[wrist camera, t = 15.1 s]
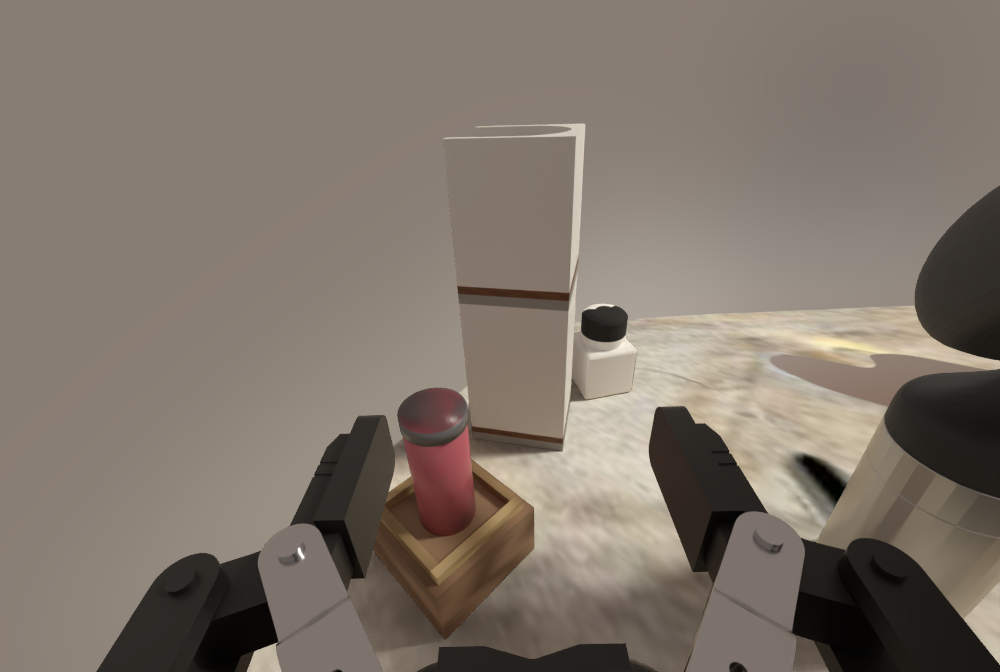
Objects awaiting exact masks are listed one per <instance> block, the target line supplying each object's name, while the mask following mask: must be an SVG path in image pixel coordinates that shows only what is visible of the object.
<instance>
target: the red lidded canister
mask: <svg viewBox="0 0 1000 672" xmlns="http://www.w3.org/2000/svg"><path fill="white" fill-rule="evenodd" d="M397 416H398V422H399V427H400V431H401V434H402V436H403V439H404V444H405V448H406V453H407V458H408V463H409V468H410V472H411V477H412V482H413V487H414V491H415V496H416V501H417V506H418V511H419V515H420V520H421V523H422V525H423V526H424V528H425V529H426V530H427V531H429V532H430V533H432V534H434V535H438V536H451V535H455V534H457V533H459V532H461V531H463V530H464V529H466V528H467V527H468V526H469V525H470V523H471V522H472V520H473V518H474V516H475V511H476V506H475V496H474V486H473V475H472V465H471V455H470V444H469V434H468V410H467V403H466V401H465V399H464V397H463V396H462V395H461V394H459V393H458V392H456V391H454V390H451V389H446V388H429V389H425V390H421V391H419V392H416V393H414V394H413V395H411V396H409V397H408V398H407V399H405V400H404V401H403V403H402V404H401V405H400V407H399V410H398V414H397Z"/></svg>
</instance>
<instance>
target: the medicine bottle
mask: <svg viewBox="0 0 1000 672" xmlns="http://www.w3.org/2000/svg"><path fill="white" fill-rule="evenodd" d="M627 320H628V315H627V313H626V312H625V311H624V310H623V309H622V308H620V307H617V306H614V305H610V304H596V305H591V306H589V307H587V308H586V309H585V310H584V311H583V312H582V323H581V332H576V333H574V339H573V359H572V379H573V381H574V382H575V384H576V385H577V387H578V389H579V390H580V392H581V393H582V395H583V396H584V398H585V399H587V400H588V399H593V398H598V397H604V396H609V395H614V394H620V393H625V392H630V391H631V390H632V383H633V376H634V369H635V362H636V355H637V350H636V349H635V348H634V347H633V346H632V345H631V344H630V343H629V342H628V341H627V340H626V339H625V336H626V328H627Z"/></svg>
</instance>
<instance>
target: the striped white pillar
mask: <svg viewBox="0 0 1000 672" xmlns="http://www.w3.org/2000/svg"><path fill="white" fill-rule="evenodd" d="M584 140H585V124H552V125H518V126H517V125H513V126H478V127H475V137H453V138H444V139H443V149H444V159H445V168H446V178H447V188H448V197H449V208H450V218H451V228H452V237H453V246H454V257H455V267H456V277H457V286H458V295H459V306H460V316H461V325H462V336H463V345H464V356H465V366H466V375H467V385H468V395H469V405H470V415H471V425H472V434H473V438H475V439H482V440H489V441H496V442H503V443H510V444H517V445H524V446H531V447H538V448H545V449H552V450H559V451H563V445H564V438H565V432H566V426H567V419H568V413H569V407H570V400H571V389H572V385H571V378H572V359H573V339H574V319H575V300H576V284H577V274H578V255H579V236H580V217H581V196H582V178H583V159H584Z"/></svg>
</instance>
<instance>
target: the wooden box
mask: <svg viewBox="0 0 1000 672" xmlns="http://www.w3.org/2000/svg"><path fill="white" fill-rule="evenodd" d="M471 465H472V475H473V486H474V496H475V506H476V511H475V516H474V518H473V520H472V522H471V523H470V525H469V526H468V527H467V528H466V529H464V530H463V531H461V532H459V533H457V534H455V535H451V536H438V535H434V534H432V533H430V532H429V531H427V530H426V529H425V528H424V526H423V525H422V523H421V520H420V515H419V511H418V506H417V501H416V496H415V491H414V487H413V482H412V477H410V478H408V479H407V480H406V481H404V482H403V483H401V484H400V485H398V486H397V487H396V488H394V489H393V490H391V491H390V492H388V495H387V499H386V502H385V506H384V510H383V513H382V517H381V521H380V524H379V528H378V532H377V535H376V539H375V543H374V546H373V548H374V552H375V553H376V554H377V556H378V557H379V558H380V559H381V561H382V562H383V563H384V564H385V566H386V567H387V568H388V569H389V571H390V572H391V573H392V574H393V576H394V577H395V578H396V579H397V580H398V582H399V583H400V584H401V585H402V587H403V588H404V589H405V590H406V592H407V593H408V594H409V595H410V597H411V598H412V599H413V600H414V601H415V603H416V604H417V605H418V606H419V608H420V609H421V610H422V611H423V613H424V614H425V615H426V616H427V618H428V619H429V620H430V621H431V622H432V624H433V625H434V626H435V627H436V629H437V630H438V631H439V632H440V634H441V635H442V636H443V637H444V639H446V638H447V637H448V636H449V635H450V634H451V633H452V632H453V631H454V630H455V629H456V628H457V627H458V626H459V625H460V624H461V623H462V622H463V621H464V620H465V619H466V618H467V617H468V616H469V615H470V614H471V613H472V612H473V611H474V610H475V609H476V608H477V606H478V605H479V604H480V603H481V602H482V601H483V600H484V599H485V598H486V597H487V596H488V595H489V594H490V593H491V592H492V591H493V590H494V589H495V588H496V587H497V586H498V585H499V584H500V583H501V582H502V581H503V580H504V579H505V578H506V577H507V576H508V575H509V574H510V573H511V572H512V571H513V570H514V568H515V567H516V566H517V565H518V564H519V563H520V562H521V561H522V560H523V559H524V558H525V557H526V556H527V555H528V554H529V553H530V552H531V551H532V550H533V549H534V507H532V506H531V505H530V504H529V503H527V502H526V501H525V500H523V499H522V498H521V497H520V496H518V495H517V494H516V493H514V492H513V491H512V490H510V489H509V488H508V487H507V486H505V485H504V484H503V483H501V482H500V481H499V480H498V479H496V478H495V477H494V476H492V475H491V474H490V473H488V472H487V471H486V470H485V469H483V468H482V467H481V466H479V465H478V464H477V463H476V462H474V461H473V460H472V459H471Z"/></svg>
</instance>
